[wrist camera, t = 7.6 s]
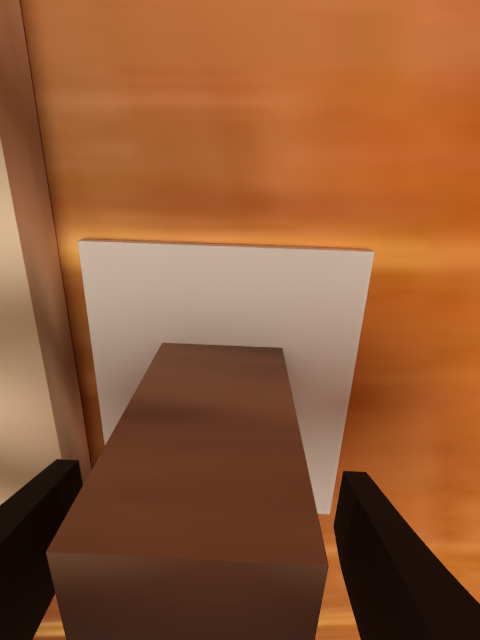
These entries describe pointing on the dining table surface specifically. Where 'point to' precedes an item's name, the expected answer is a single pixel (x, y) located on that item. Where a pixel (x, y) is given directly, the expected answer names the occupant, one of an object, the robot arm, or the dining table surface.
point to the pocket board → (30, 290)
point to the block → (196, 510)
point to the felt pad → (232, 323)
